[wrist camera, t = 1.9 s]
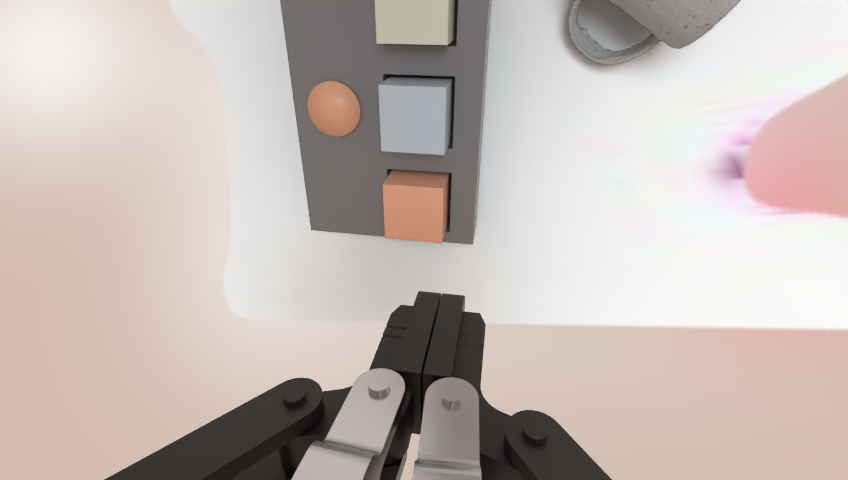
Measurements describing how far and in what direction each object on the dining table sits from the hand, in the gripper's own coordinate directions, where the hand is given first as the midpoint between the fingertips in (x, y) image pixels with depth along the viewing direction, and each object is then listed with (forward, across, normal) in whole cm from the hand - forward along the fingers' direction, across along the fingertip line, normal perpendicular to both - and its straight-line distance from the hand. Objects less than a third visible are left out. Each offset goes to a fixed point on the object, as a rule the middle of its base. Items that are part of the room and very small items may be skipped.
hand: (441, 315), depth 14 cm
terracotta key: (+22, +5, +5) cm, 23 cm away
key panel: (+24, +7, -2) cm, 25 cm away
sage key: (+21, +5, -9) cm, 24 cm away
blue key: (+21, +5, -2) cm, 22 cm away
